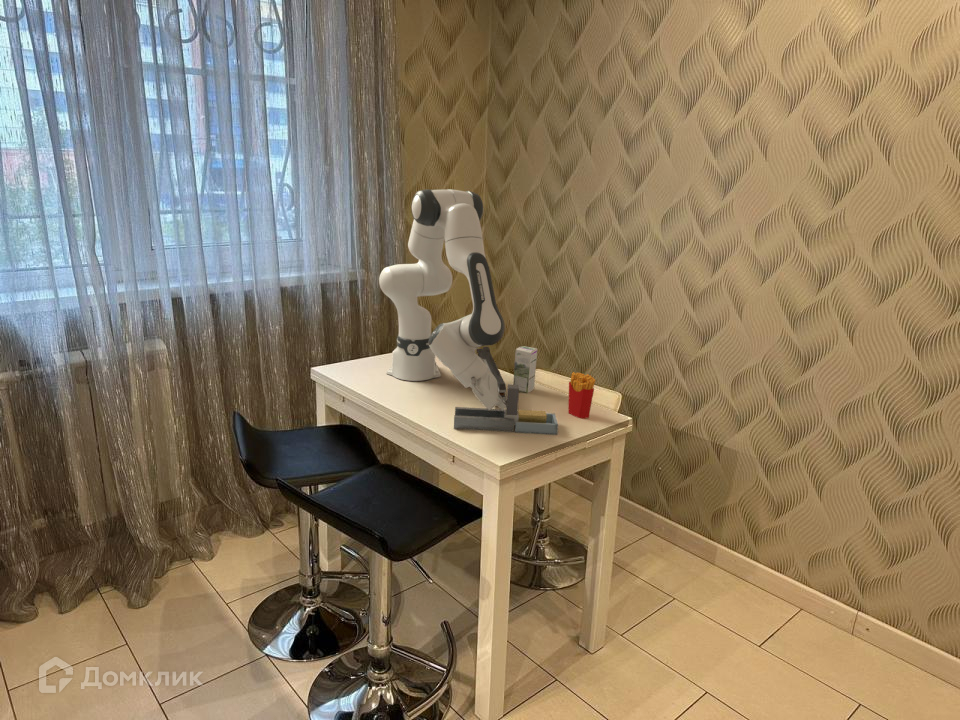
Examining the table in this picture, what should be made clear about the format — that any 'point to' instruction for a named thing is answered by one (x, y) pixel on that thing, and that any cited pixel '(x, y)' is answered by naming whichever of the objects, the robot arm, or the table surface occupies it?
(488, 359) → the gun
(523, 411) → the golden tan cube
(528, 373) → the syrup box
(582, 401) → the french fries
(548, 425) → the tray
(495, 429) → the slot bed
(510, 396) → the tall gray pillar
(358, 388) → the table surface
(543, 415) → the mustard yellow cube
